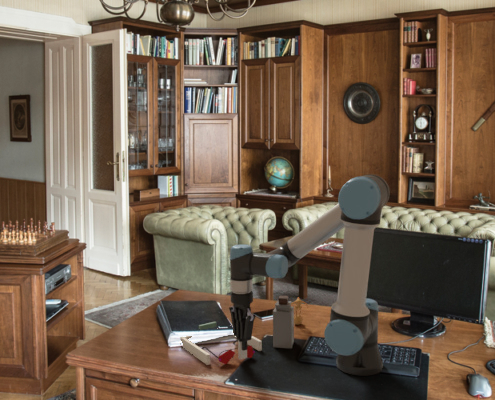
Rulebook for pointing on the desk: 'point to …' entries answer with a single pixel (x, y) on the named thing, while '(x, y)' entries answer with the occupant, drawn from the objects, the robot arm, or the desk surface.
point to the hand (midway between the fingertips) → (242, 358)
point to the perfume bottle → (283, 323)
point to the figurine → (298, 318)
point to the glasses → (231, 354)
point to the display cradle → (205, 356)
